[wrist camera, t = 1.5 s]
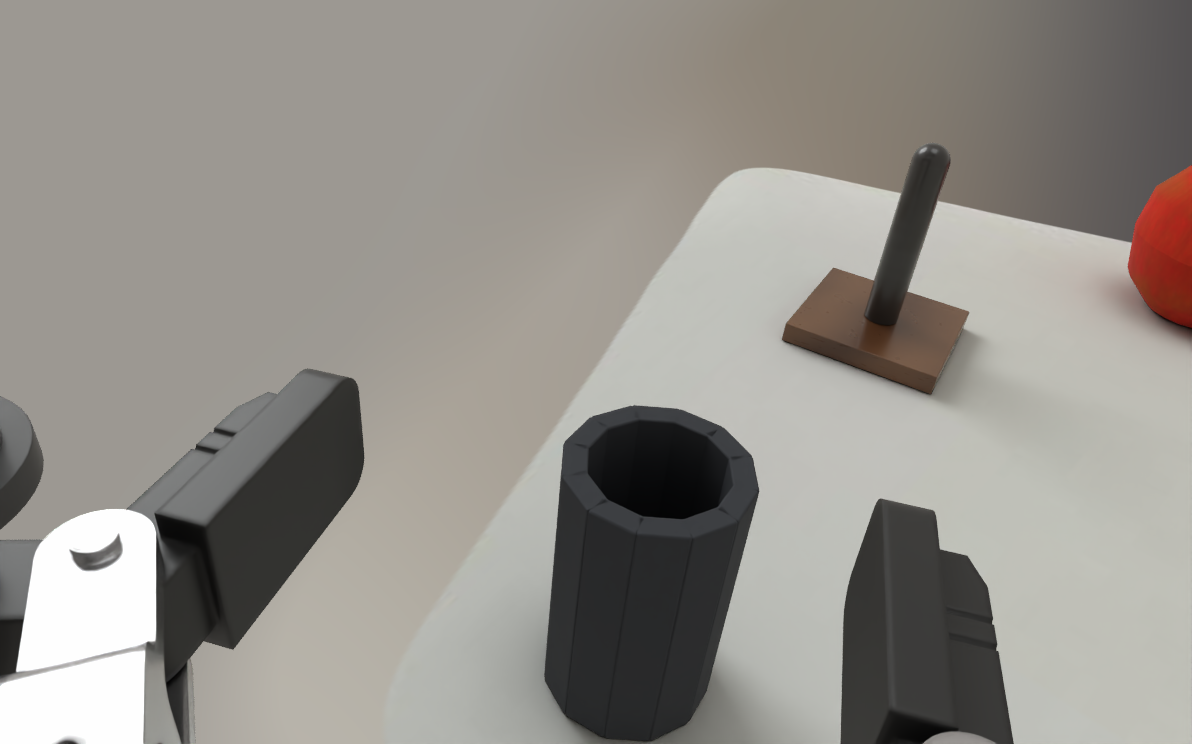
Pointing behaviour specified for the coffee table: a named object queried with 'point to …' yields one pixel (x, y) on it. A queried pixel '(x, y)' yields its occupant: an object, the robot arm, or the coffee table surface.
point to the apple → (1165, 250)
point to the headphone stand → (888, 297)
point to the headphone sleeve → (644, 567)
